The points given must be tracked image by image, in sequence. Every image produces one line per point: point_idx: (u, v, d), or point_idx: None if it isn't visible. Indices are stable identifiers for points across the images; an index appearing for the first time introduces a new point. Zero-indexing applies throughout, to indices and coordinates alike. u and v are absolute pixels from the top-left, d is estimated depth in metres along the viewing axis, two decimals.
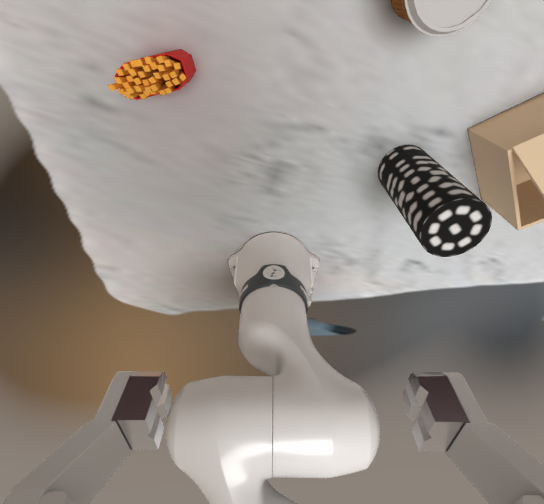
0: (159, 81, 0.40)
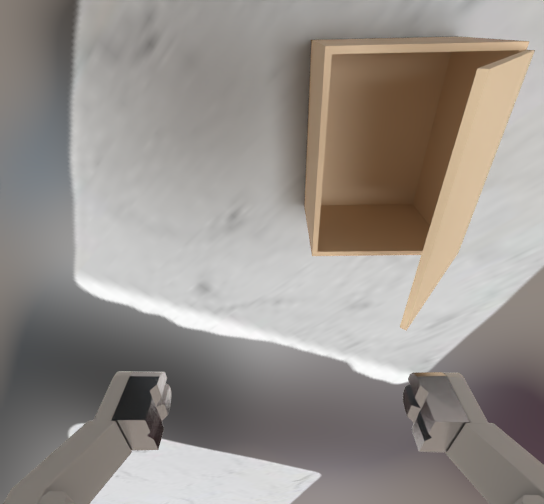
0: None
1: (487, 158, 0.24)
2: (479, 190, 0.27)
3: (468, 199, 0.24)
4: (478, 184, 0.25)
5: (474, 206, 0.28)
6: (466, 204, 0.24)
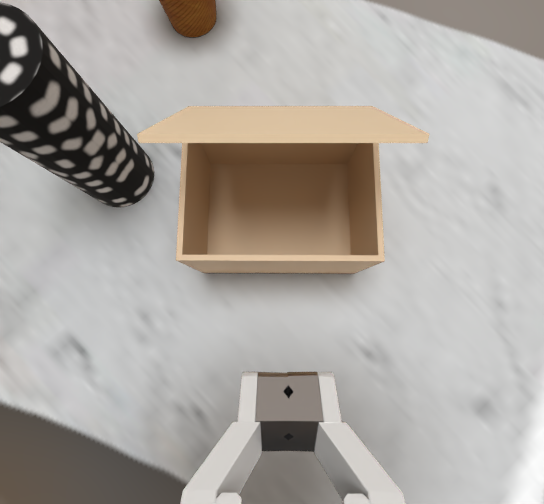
0: None
1: (257, 111, 0.27)
2: (295, 108, 0.29)
3: (288, 115, 0.25)
4: (283, 111, 0.27)
5: (314, 107, 0.29)
6: (293, 115, 0.25)
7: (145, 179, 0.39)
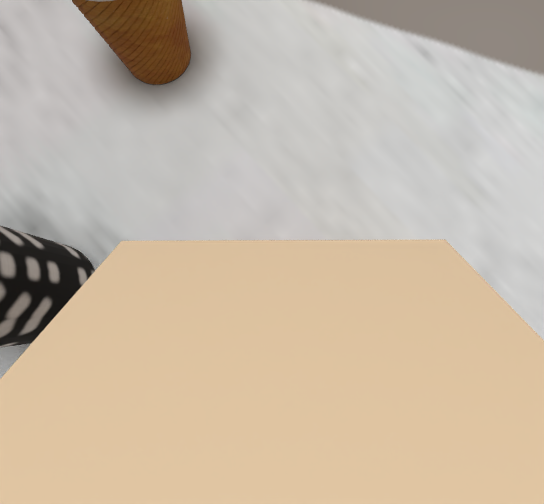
0: None
1: (238, 280, 0.14)
2: (311, 254, 0.16)
3: (301, 311, 0.12)
4: (288, 276, 0.14)
5: (344, 248, 0.16)
6: (312, 312, 0.12)
7: None
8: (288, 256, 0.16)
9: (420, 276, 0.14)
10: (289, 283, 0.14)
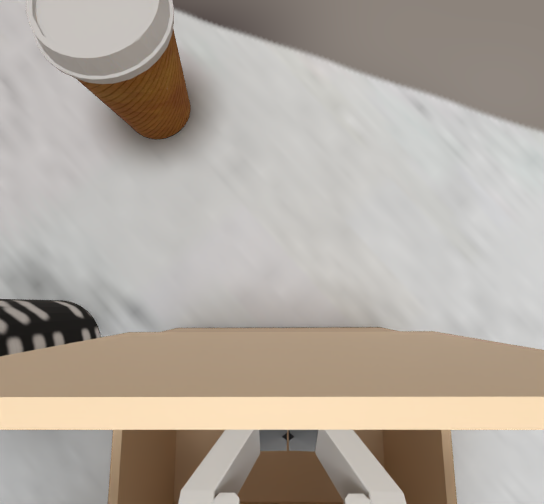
0: None
1: (238, 338, 0.15)
2: (307, 334, 0.17)
3: (297, 343, 0.13)
4: (285, 337, 0.15)
5: (338, 332, 0.17)
6: (308, 344, 0.12)
7: None
8: (285, 334, 0.17)
9: (411, 337, 0.15)
10: (286, 339, 0.14)
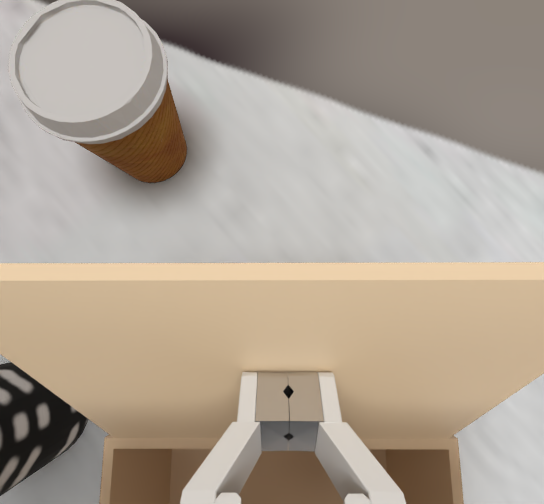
0: None
1: None
2: None
3: None
4: None
5: None
6: None
7: (72, 431, 0.25)
8: None
9: None
10: None
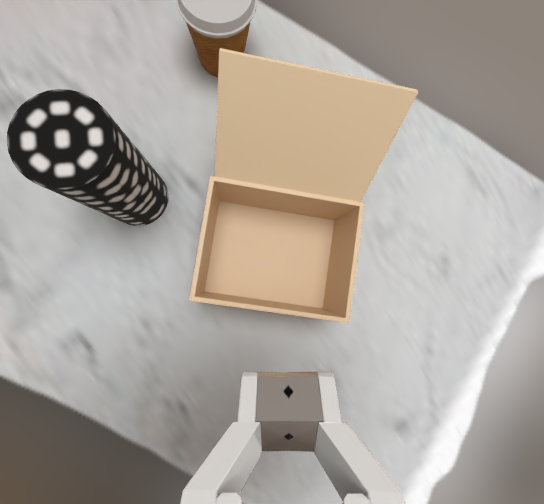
0: None
1: None
2: None
3: None
4: None
5: None
6: None
7: (161, 207, 0.45)
8: None
9: None
10: None
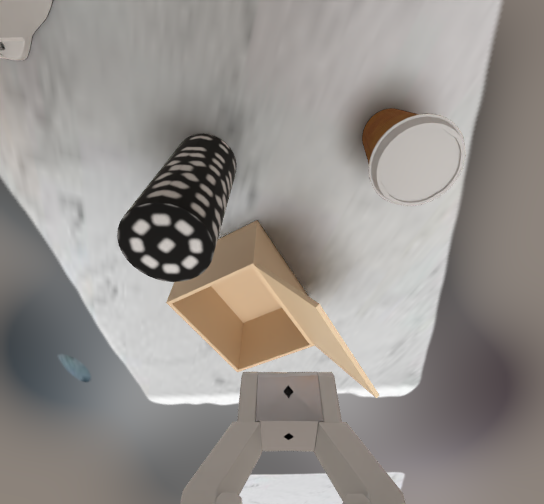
0: None
1: None
2: None
3: None
4: None
5: None
6: None
7: None
8: None
9: None
10: None
